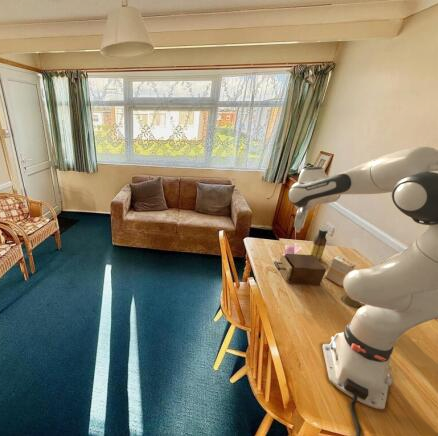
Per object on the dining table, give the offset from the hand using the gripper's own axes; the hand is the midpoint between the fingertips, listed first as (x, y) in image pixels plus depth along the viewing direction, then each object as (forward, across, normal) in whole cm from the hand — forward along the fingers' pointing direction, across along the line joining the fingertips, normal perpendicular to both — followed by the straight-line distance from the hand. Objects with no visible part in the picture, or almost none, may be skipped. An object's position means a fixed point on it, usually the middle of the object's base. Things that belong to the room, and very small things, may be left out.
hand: (299, 227), depth 111 cm
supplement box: (+34, +12, -21) cm, 42 cm away
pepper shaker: (+33, -2, -27) cm, 43 cm away
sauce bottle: (+36, +30, -10) cm, 47 cm away
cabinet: (+33, +4, -5) cm, 33 cm away
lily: (+34, +21, +2) cm, 40 cm away
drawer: (+31, +2, -1) cm, 31 cm away
